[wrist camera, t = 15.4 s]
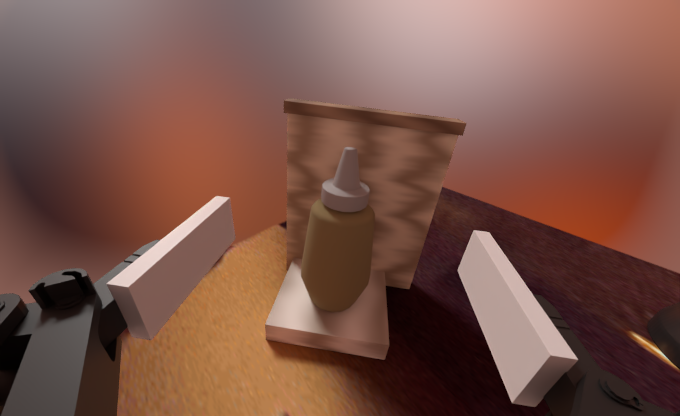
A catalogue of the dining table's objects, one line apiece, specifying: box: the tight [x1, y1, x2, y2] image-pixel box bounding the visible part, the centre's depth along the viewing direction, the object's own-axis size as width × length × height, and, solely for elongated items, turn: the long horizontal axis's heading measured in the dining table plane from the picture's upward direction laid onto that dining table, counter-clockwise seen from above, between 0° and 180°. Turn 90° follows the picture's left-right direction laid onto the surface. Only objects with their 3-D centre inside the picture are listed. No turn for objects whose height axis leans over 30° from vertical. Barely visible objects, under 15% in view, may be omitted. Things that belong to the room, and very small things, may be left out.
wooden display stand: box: [265, 99, 466, 360], centre depth 28 cm, size 19×13×23 cm
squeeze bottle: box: [301, 147, 375, 312], centre depth 27 cm, size 8×8×18 cm
